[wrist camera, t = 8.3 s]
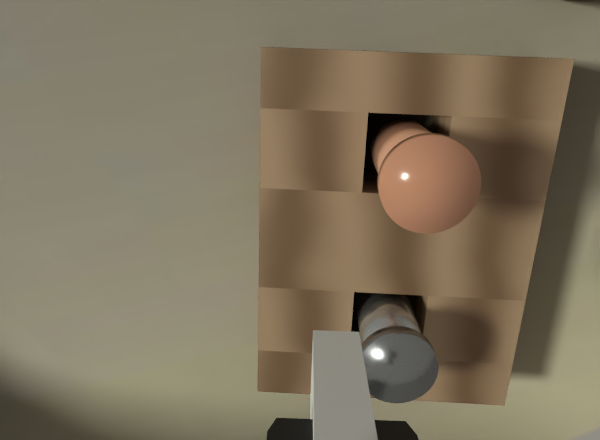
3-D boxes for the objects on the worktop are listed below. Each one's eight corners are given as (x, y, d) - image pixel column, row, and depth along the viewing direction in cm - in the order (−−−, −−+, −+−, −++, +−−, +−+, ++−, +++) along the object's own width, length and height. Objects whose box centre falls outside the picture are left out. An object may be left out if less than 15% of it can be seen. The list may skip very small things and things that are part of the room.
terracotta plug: (361, 184, 33) (375, 231, 25) (367, 111, 32) (383, 134, 23) (434, 188, 33) (473, 236, 25) (443, 114, 32) (488, 138, 23)
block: (265, 352, 42) (257, 391, 37) (269, 47, 34) (261, 47, 29) (483, 364, 41) (504, 405, 37) (538, 57, 34) (574, 58, 29)
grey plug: (348, 324, 40) (355, 400, 31) (352, 269, 38) (360, 332, 30) (409, 328, 39) (433, 405, 31) (416, 272, 38) (443, 337, 29)
